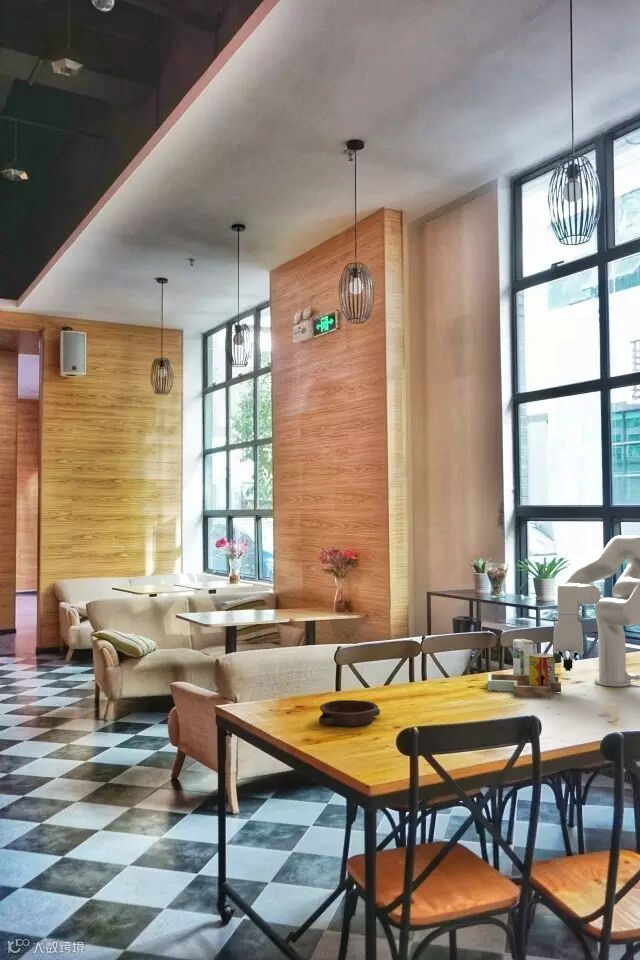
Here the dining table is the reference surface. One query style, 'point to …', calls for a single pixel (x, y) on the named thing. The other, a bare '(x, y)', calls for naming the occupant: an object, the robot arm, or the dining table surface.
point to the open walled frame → (529, 690)
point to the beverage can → (541, 669)
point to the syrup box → (521, 656)
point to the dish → (348, 712)
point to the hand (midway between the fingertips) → (567, 670)
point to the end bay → (500, 684)
